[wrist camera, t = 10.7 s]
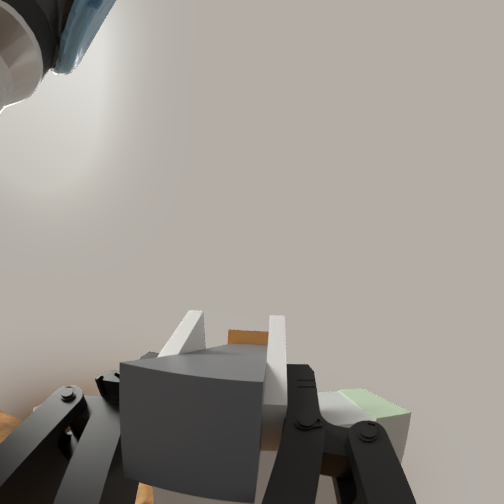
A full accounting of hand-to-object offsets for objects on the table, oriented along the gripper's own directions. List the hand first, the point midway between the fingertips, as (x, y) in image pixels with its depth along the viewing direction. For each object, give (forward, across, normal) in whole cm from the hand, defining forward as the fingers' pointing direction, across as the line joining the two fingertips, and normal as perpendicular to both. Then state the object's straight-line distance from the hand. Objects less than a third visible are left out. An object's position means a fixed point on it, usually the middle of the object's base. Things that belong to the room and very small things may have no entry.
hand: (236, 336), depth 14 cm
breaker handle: (+1, 0, +6) cm, 6 cm away
